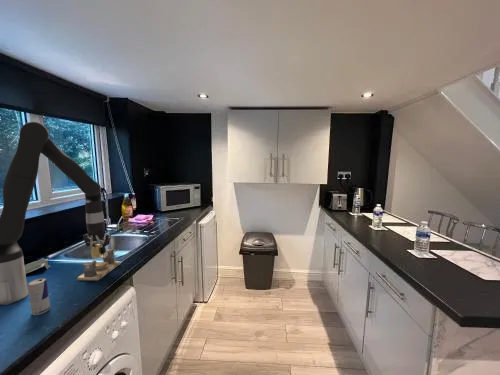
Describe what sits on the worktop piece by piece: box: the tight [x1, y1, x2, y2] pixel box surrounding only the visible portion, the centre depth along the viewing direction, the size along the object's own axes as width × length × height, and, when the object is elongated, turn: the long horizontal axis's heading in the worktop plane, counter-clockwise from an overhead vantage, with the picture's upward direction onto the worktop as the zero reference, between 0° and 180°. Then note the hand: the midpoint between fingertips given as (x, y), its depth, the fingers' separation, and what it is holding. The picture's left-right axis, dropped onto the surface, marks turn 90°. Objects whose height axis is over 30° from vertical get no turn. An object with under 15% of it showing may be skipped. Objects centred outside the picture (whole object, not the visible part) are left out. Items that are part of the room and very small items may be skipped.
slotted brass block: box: [90, 243, 106, 258], centre depth 121 cm, size 5×4×5 cm
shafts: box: [85, 248, 112, 269], centre depth 121 cm, size 17×2×4 cm, turn 177°
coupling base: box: [77, 248, 121, 281], centre depth 122 cm, size 18×10×8 cm, turn 177°
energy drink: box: [27, 277, 51, 316], centre depth 90 cm, size 5×5×12 cm
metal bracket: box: [24, 257, 51, 274], centre depth 124 cm, size 14×6×15 cm
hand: (98, 253), depth 121 cm, fingers closed on slotted brass block, 4 cm apart
